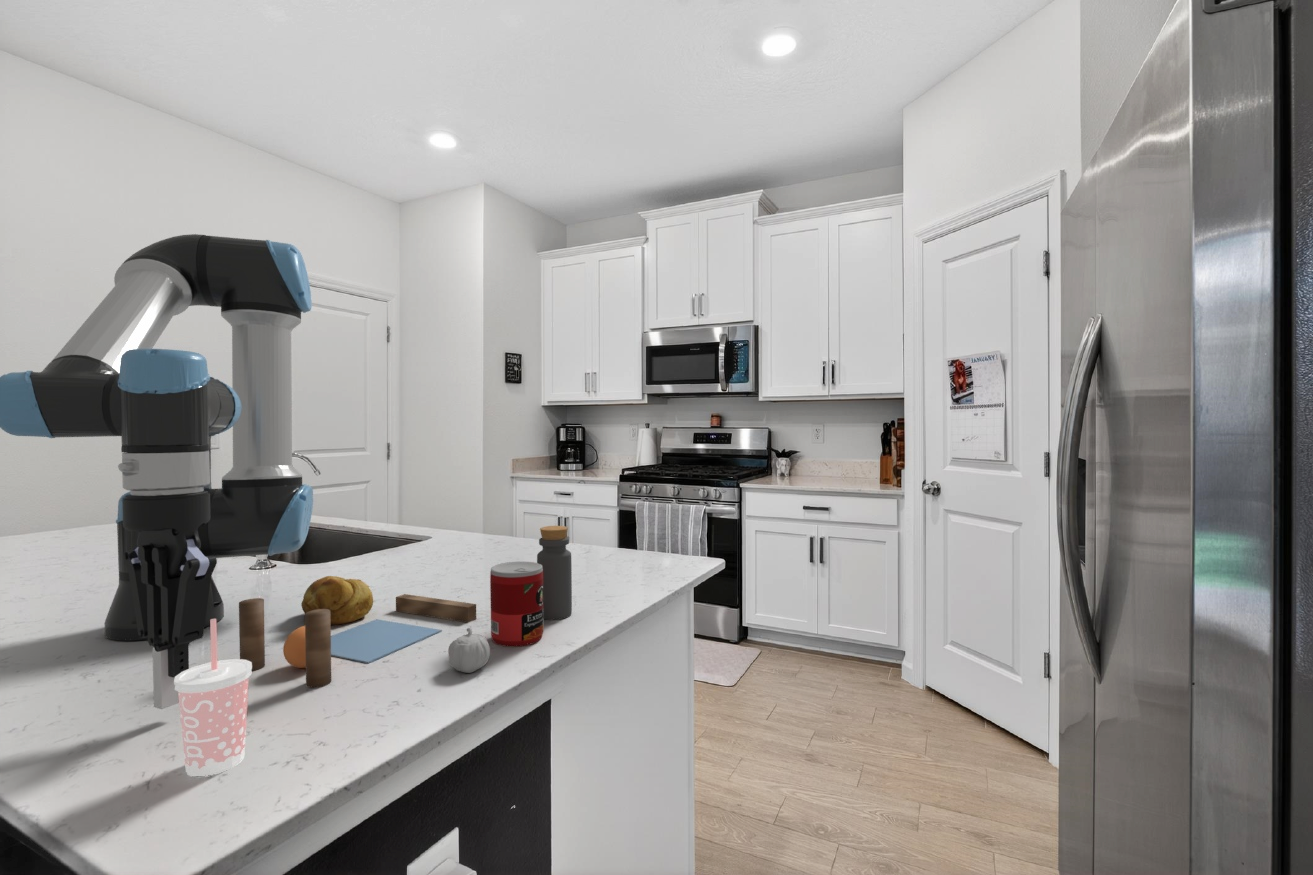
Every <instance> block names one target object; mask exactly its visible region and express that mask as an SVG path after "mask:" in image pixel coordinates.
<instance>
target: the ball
mask: <svg viewBox="0 0 1313 875" xmlns="http://www.w3.org/2000/svg"><path fill="white" fill-rule="evenodd" d="M282 651H283V652H282V653H283V657H284V659H285V661H286V662H287V663H289V665H291V666H292V667H294V668H300V669H306V646H305V625H303V626H299V627H298V628H296V629H294V630H293V631H291V633H289V635H288V636H287V637H286V639H285V641H284V643H283V648H282Z"/></svg>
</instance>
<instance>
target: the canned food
mask: <svg viewBox="0 0 1313 875" xmlns="http://www.w3.org/2000/svg"><path fill="white" fill-rule="evenodd" d="M489 574H490V575H489V576H490V577H489V578H490V580H489V584H490V585H489V587H490V588H489V590H490V636H491V639H492V642H493V643H494V644H496V645H498V646H502V647H510V648H512V647H513V648H514V647H515V648H516V647H524V646H529V645H533V644H535V643H537V642H538V641H540V640H541V639H542V637H543V633H544V619H543V568H542V565H541V564H538V563H537V562H534V561H509V562H501V563H498V564H495V565H493V566H491V568H490V573H489Z"/></svg>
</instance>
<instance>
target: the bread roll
mask: <svg viewBox="0 0 1313 875" xmlns="http://www.w3.org/2000/svg"><path fill="white" fill-rule="evenodd" d="M373 606H374V597H373V592H372V590H371V588H370V586H369V585H368V584H367V583H365V582H364V581H363V580H362V579H356V578H353V579H352V578H344V577H341V576H335V575H333V576H332V575H327V576H324V577H322V578H319V579H316V580H315V581H313V582H312V583H311V584H310V585H309V586H308V587H307V588H306V589H305V593H304V594H303V598H302V600H301V606H300V607H301V610H302V611H303V613H304V614H305V613H307V612H309V611H312V610H317V609H329V610H330V618H331V626H338V625H343V624H344V625H345V624H349V623H353V622H354V621H357V620H360V619H362V618H364V617H365V616H366V615H368V614H369V612H371V610H372V607H373Z"/></svg>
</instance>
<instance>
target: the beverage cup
mask: <svg viewBox="0 0 1313 875" xmlns="http://www.w3.org/2000/svg"><path fill="white" fill-rule="evenodd" d="M209 626H210V628H209V629H210V661H208V662H206V663H202V664H198V665H195V666H192V667H189V669H187V670H185V671H183V672H181V673H179V674H178V675H177V676H175V679H174V685H175V689H174V690H176V691H178V696H179V703H178V706H179V713H180V714H179V715H180V726H181V734H182V746H183V755H184V756H183V757H184V763H185V764H184V765H185V766H184V767H185V773H186V772H187V773H188V774H190V775H193V776H205V775H206V776H205V777H209V776H208V775H211V776H214V775H213V774H215V775H218V774H221V772H222V773H224V772H226V770H227V771H229V770H231V769H233V768H235V767H236V766H237V765H239V764H241V762H242V761H243V760H244V759H245V752H246V751H245V750H246V738H247V737H246V734H247V714H248V698H249V697H248V696H249V679H250V676H252V672H253V671H252V662H250V661H248V660H243V659H240V658H232V659H221V660H218V642H217V641H218V639H217V638H218V637H217V636H218V634H217V622H216V619H211V620H210V625H209ZM188 774H187V775H188Z"/></svg>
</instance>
